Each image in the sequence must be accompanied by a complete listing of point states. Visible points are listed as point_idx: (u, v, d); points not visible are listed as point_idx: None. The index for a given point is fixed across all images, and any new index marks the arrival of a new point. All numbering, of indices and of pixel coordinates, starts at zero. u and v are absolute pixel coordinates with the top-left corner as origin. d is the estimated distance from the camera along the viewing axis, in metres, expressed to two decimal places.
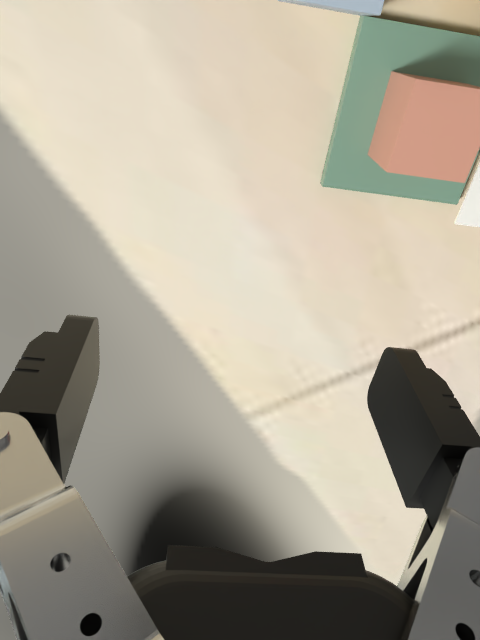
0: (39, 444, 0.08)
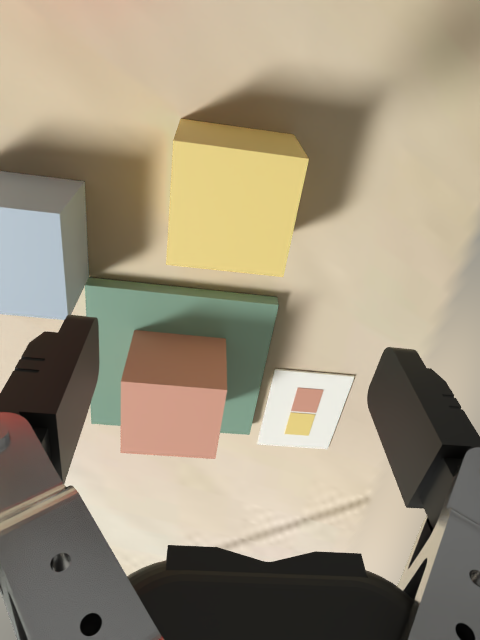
0: (39, 444, 0.08)
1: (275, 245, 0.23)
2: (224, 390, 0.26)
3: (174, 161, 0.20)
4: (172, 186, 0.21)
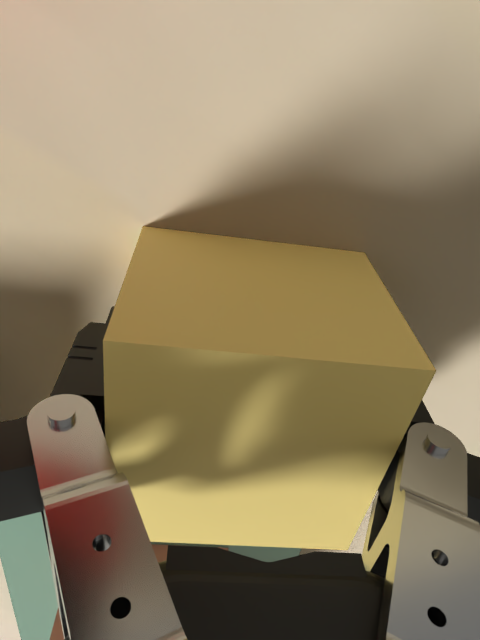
0: (100, 429, 0.08)
1: (336, 508, 0.11)
2: None
3: (109, 380, 0.08)
4: (109, 423, 0.09)
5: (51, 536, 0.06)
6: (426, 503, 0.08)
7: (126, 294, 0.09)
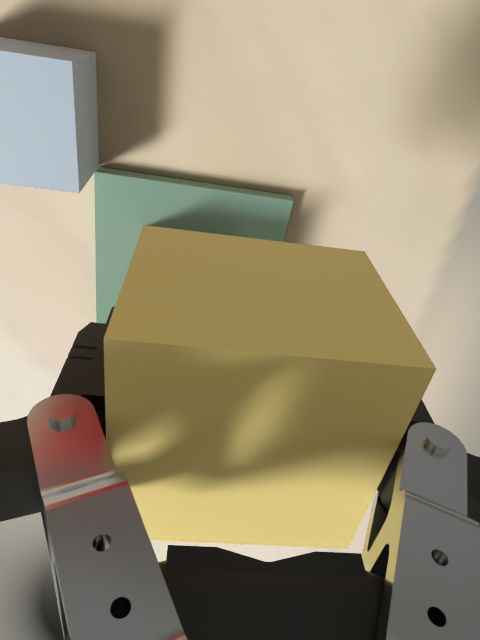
0: (100, 429, 0.08)
1: (337, 506, 0.11)
2: None
3: (110, 378, 0.08)
4: (109, 422, 0.09)
5: (51, 536, 0.06)
6: (426, 503, 0.08)
7: (126, 293, 0.09)
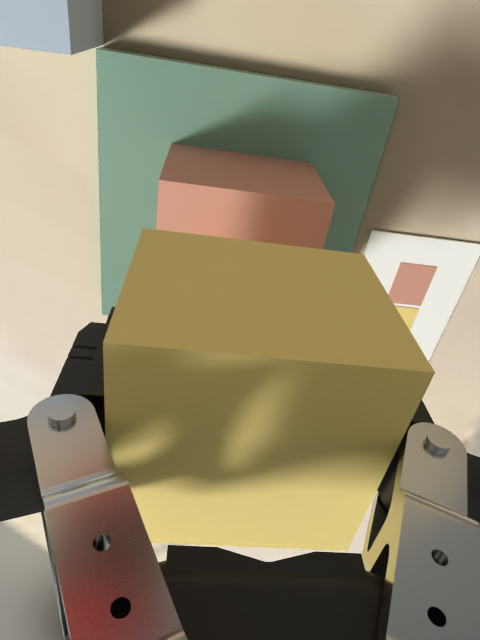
0: (100, 429, 0.08)
1: (336, 509, 0.11)
2: (330, 204, 0.16)
3: (109, 382, 0.08)
4: (109, 425, 0.09)
5: (51, 536, 0.06)
6: (426, 503, 0.08)
7: (126, 296, 0.09)
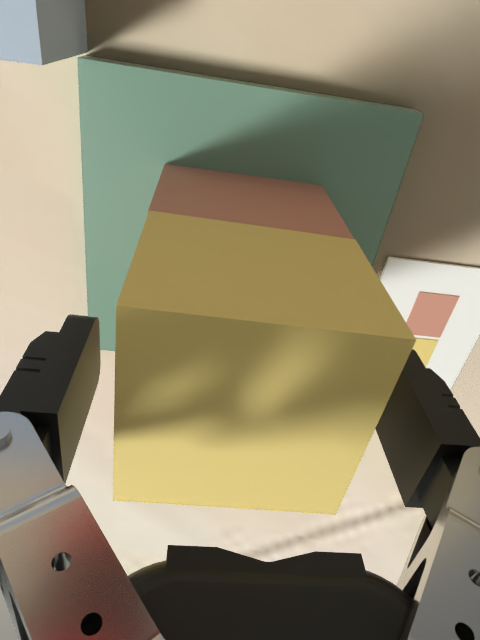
0: (40, 444, 0.08)
1: (325, 472, 0.12)
2: None
3: (120, 343, 0.09)
4: (118, 385, 0.10)
5: (4, 565, 0.06)
6: (471, 523, 0.07)
7: (135, 268, 0.10)
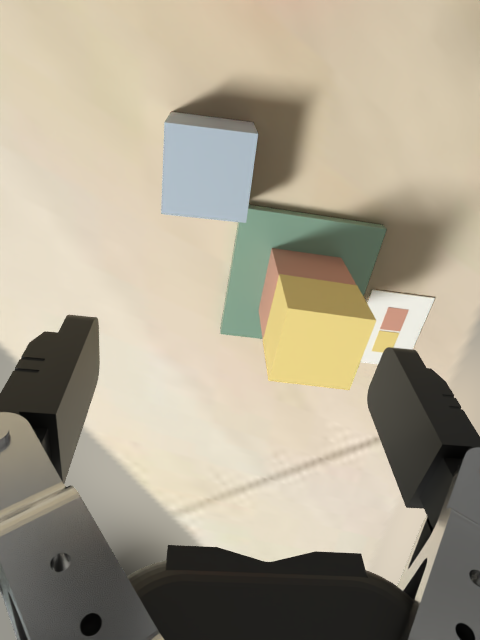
0: (39, 444, 0.08)
1: (346, 370, 0.32)
2: None
3: (286, 320, 0.30)
4: (282, 334, 0.30)
5: (3, 566, 0.06)
6: (472, 524, 0.07)
7: (286, 296, 0.31)
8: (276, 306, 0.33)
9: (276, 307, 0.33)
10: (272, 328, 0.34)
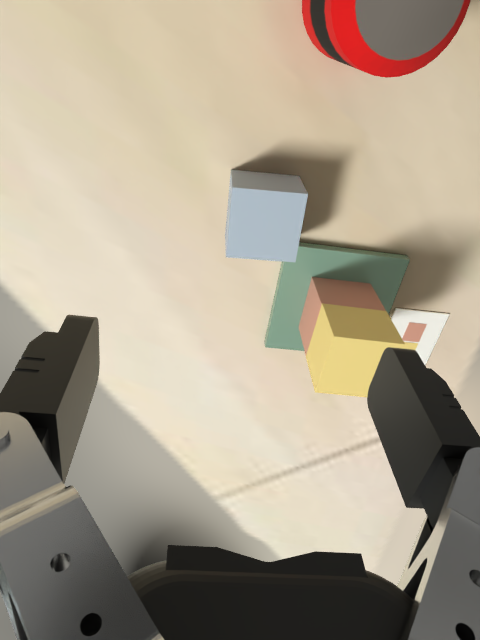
0: (39, 444, 0.08)
1: None
2: None
3: (332, 345, 0.37)
4: (328, 356, 0.37)
5: (3, 566, 0.06)
6: (472, 524, 0.07)
7: (331, 325, 0.38)
8: (320, 330, 0.40)
9: (320, 331, 0.40)
10: (316, 348, 0.41)
